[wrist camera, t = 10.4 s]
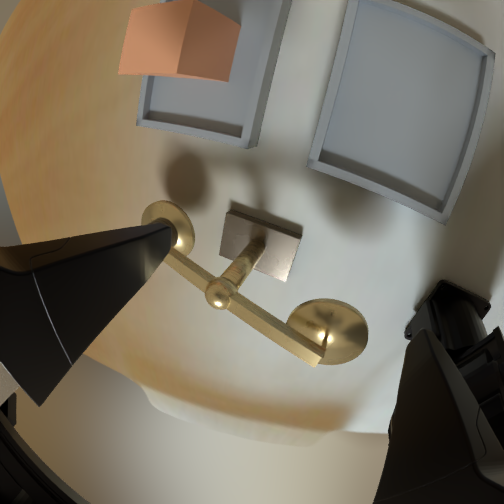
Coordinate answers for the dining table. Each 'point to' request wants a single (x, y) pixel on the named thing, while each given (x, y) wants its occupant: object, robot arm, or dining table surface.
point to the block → (179, 41)
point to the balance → (271, 263)
